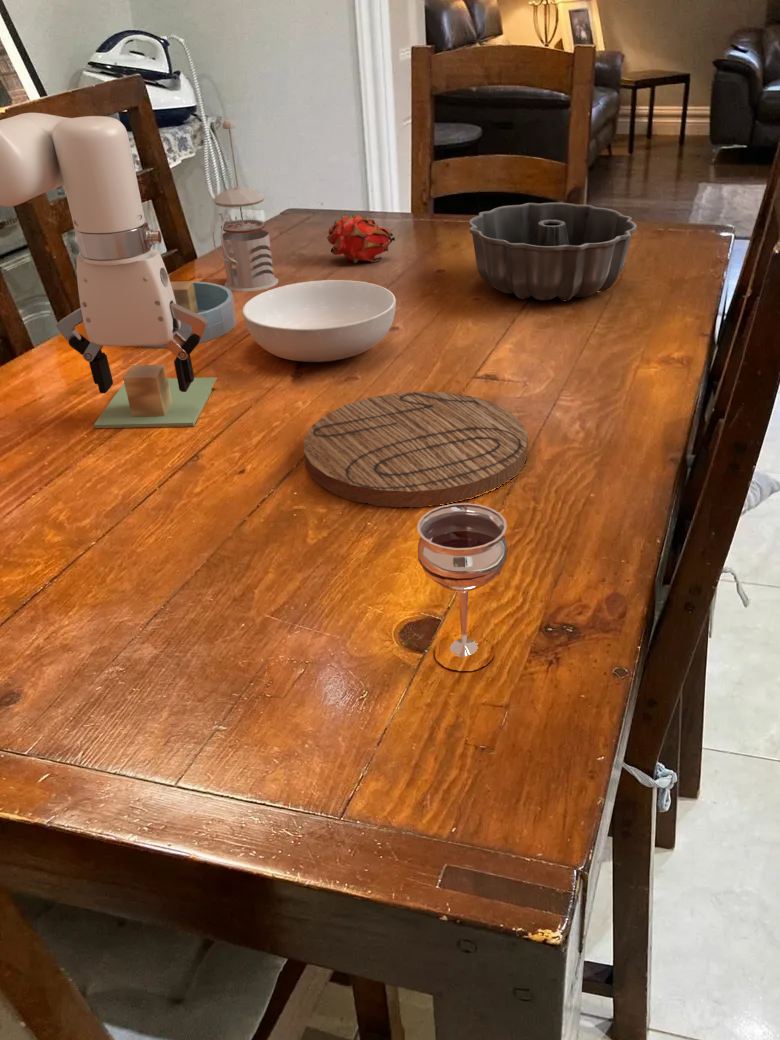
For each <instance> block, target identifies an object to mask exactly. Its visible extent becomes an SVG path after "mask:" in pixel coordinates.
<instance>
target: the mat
mask: <svg viewBox="0 0 780 1040" xmlns="http://www.w3.org/2000/svg"><path fill="white" fill-rule="evenodd" d="M167 378H168V383H169V388H170V393H171V397H172V402H173V403H172V404H171V406H170V408H169V409H168V411H167V413H166V415H165V416H140V417H132V413H131V409H130V405H129V401H128V397H127V392H126V388H125V384H124V383H122V384H121V386H120V388H119V389H118V391H117V392H116V393H115V394H114V396H113V397H112V398H111V400H110V401H109V403H108V405H107V406H106V407H105V409H104V410H103V411H102V413H101V414H100V416H99V417H98V418H97V420H96V421H95V422H94V424H93V428H94V429H129V428H133V429H134V428H135V429H136V428H175V427H179V428H180V427H182V428H183V427H194V426H195V425H196V423H197V422H198V419H199V417H200V415H201V413H202V412H203V409H204V408H205V405H206V404H207V401H208V400H209V398H210V396H211V394H212V393H213V390H214V387H213V386H214V384H215V382H216V381H217V379H218V378H217V377H215V376H213V377H211V376H210V377H209V376H208V377H194V381H193V382H191V384H190V386H189V388H188V390H187V391H186V392H181V391H180V390H179V385H178V380H177V377H167Z"/></svg>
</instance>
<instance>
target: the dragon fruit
mask: <svg viewBox="0 0 780 1040" xmlns="http://www.w3.org/2000/svg"><path fill="white" fill-rule="evenodd" d="M326 239H327V241H328V242H329V244H331V245H332V247H331V248H330V253H332V254H333V255H334V256H340V255H344V256H345V257H344V258H345V261H346V262H353V264H357V263H358V262H359V261H363V262H364V261H365V262H370V263H377V262H379V261H381V260H383V257H381V256H380V257H376V256H377V255H381V254H383V253H385V252H389V246H390V244H392V242H395V240H396V238H395V236H394V234H393V233H392V232H391V230H390V229H388V228H385V227H381V226H379V225H378V224H376V221H375V220H374V219H371V218H370V216H369V215H365V216H364V217H363V218H362V216H361V215H360V214H355V216H353V214H351V215H348V216H345V215H342V216H340V219H337V220H334V222H333V225H332V226H331V227H330V228H328V235H327V237H326ZM375 257H376V258H375Z"/></svg>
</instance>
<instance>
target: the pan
mask: <svg viewBox="0 0 780 1040" xmlns="http://www.w3.org/2000/svg"><path fill="white" fill-rule="evenodd" d="M193 284H194V289H195V295H196V300H197V306H198V311H199V313H197V314H199V315H201V316H204V317H205V318H206V319H207V324H206V327H205V329H204V332H203V335H202V338H201V340H200V342H199V343H198V345H199V344H203V343H207V342H211V341H213V340H217V339H219V338H221V337H224V336H225V335H227V334H229V333H230V332H232V330H234V329H235V327H236V326H237V323H238V317H237V311H236V305H235V298H234V294H233V291H232V290H230V289H228V288H226V287H225V286H224V285H221V284H217V283H212V282H207V281H206V282H205V281H193ZM180 324H181V326H180V329H179V330H178V332H179V333H180V334H181V335H182V336H183V337H184V338H185V339H186V340H187V339H188V337H189V336H190V334H191V331H192V328H191V326H190V325H188V324H186V323H184V322H181V321H180ZM139 347H140V348H149V349H150V348H151V349H168V348H167V347H166V346H165V345H150V346H139Z"/></svg>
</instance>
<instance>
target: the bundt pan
mask: <svg viewBox="0 0 780 1040" xmlns="http://www.w3.org/2000/svg"><path fill="white" fill-rule="evenodd" d="M632 218H633V217H631V216H627V215H623V214H622V213H621V212H620V211H617V210H614V209H611V208H605V207H597V206H596V207H595V206H593V205H591V204H576V203H568V202H543V203H536V202H526V203H523V204H512V205H510V204H509V205H501V206H498V207H495V208H493V209H491V210H486V211H480V212H478V215H477V216H474V217H472V218H470V219H469V221H468V226H469V234H471V237H472V243H473V248H474V249H473V250H474V256H475V262H476V263H475V264H476V268H477V273H478V275H479V277H480V279H482V280H483V282H484V283H485V284H486V285H488V286H490V287H492V288H494V289H496V290H497V291H499V292H501V293H503V294H506V295H515V296H516V297H517V298H518V299H520V300H523V299H522V298H526V299H528V298H530V297H532V298H534V299H536V300H538V301H551V300H553V299H555V298H558V299H559V300H561V299H562V300H561V301H563V300H566V301H565V302H568V301H570V300H571V299H572V298H573V297H575V298H586V297H590V296H592V295H594V294H596V293H595V292H597V291H603V292H605V291H607V290H609V289H610V288H611V287H613V284H614V283H615V282H616V281H617V279H618V277H619V276H620V274H621V273H622V271H623V270H624V267H625V264H626V260H627V256H628V252H629V249H630V245H631V240H632V238H633V237H632V236H633V234H635V232H637V227H638V226H637V223H635V222H634V221H632ZM527 297H528V298H527Z"/></svg>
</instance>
